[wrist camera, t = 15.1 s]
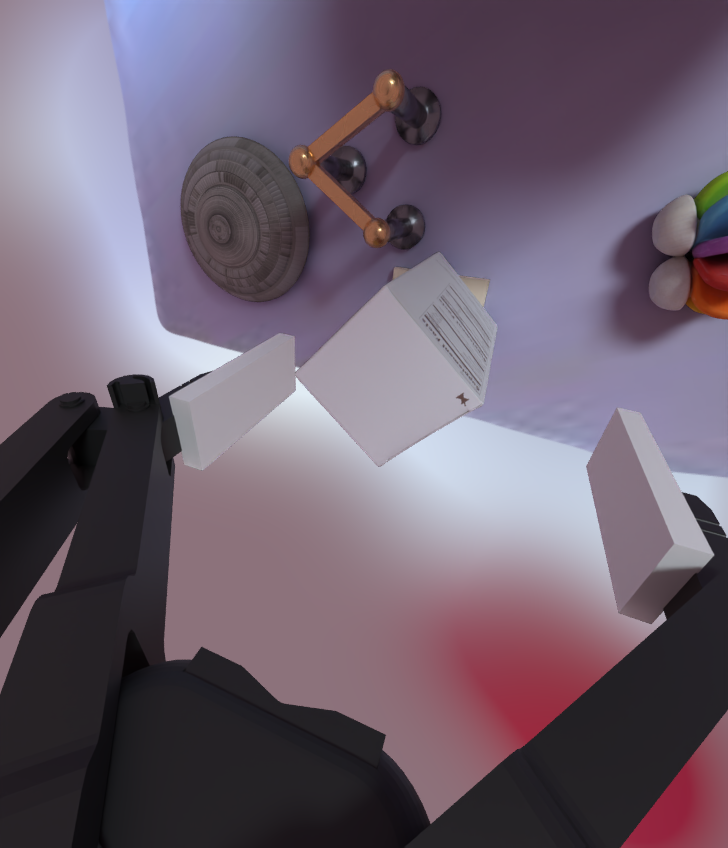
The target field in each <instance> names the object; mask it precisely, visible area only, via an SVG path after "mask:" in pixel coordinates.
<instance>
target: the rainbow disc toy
mask: <svg viewBox="0 0 728 848" xmlns="http://www.w3.org/2000/svg"><path fill="white" fill-rule="evenodd" d="M652 240H653V244H654V246H655V247H656V248H657V249H658V250H659V251H661V252H662V253H664V254H666V255H670V256H674V257H672V258H670V259H668V260H667V261H665V262H663V263H662V264H661V265H660V266H659V267H657V269H656V270H655V271H654V272H653V274H652V275H651V278H650V281H649V295H650V298H651V300H652V301H653V303H655V304H656V305H657V306H659V307H660V308H663V309H667V310H680V309H681V308H682V307H683V306H684V305H685V303H686V305H687V306H688V307H689V308H690V309H692V310H693V311H696V312H698V313H702V314H706V315H709V316H711V317H714V318H719V319H728V171H727V172H725V173H723V174H721V175H719V176H718V177H716V178H715V179H713V180H712V181H711V182H710V183H708V184H707V185H706V186H705V187H704V188H703V189H702V190H701V192H700V193H699V194H698V195H697V197H696V198H695V199H694V200H693V198H692V197H691V196H690V195H683V196H680V197H678V198H676V199H675V200H673V201H671V202H670V203H669V204H667V205H666V206H665V207H664V208H663V209H662V210H661V211H660V212H659V214H658V215H657V217H656V218H655V220H654V223H653V228H652ZM690 250H692V255H693V256H694V258H692V259H690V260H687V258H686V257H685V254H686V253H687V252H689V251H690Z"/></svg>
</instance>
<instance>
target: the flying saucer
mask: <svg viewBox="0 0 728 848" xmlns="http://www.w3.org/2000/svg"><path fill="white" fill-rule="evenodd" d="M181 218H182V224H183V229H184V233H185V236H186V239H187V242H188V245H189V247H190V249H191V251H192V253H193V255H194V257H195V259H196V261H197V262H198V264H199V265H200V267H201V268H202V269H203V271H204V272H205V273H206V274H207V275H208V277H209V278H210V279H211V280H212V281H213V282H214V283H216V284H217V285H218V286H219V287H220V288H222V289H223V290H225V291H226V292H228V293H229V294H231V295H233V296H235V297H237V298H240V299H243V300H247V301H252V302H264V301H269V300H273V299H275V298H278V297H280V296H281V295H283V294H284V293H286V292H287V291H288V290H289V289H290V288H291V287H292V286H293V285H294V284H295V282H296V281H297V280H298V278H299V276H300V274H301V272H302V270H303V268H304V265H305V262H306V259H307V254H308V249H309V221H308V215H307V210H306V206H305V203H304V200H303V197H302V194H301V192H300V189H299V187H298V185H297V183H296V181H295V179H294V178H293V176H292V174H291V173H290V171H289V170H288V169H287V167H286V166H285V165H284V163H283V162H282V161H281V160H280V159H279V158H278V157H277V156H276V155H275V154H274V153H273V152H271V151H270V150H269V149H267V148H266V147H265V146H263V145H261V144H260V143H257V142H255V141H253V140H250V139H247V138H243V137H225V138H221V139H218V140H215V141H213V142H211V143H210V144H208V145H207V146H205V147H204V148H203V149H202V150H201V151H200V152H199V153H198V154H197V155H196V157H195V158H194V159H193V161H192V163H191V164H190V166H189V168H188V171H187V173H186V176H185V179H184V182H183V187H182V193H181Z"/></svg>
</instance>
